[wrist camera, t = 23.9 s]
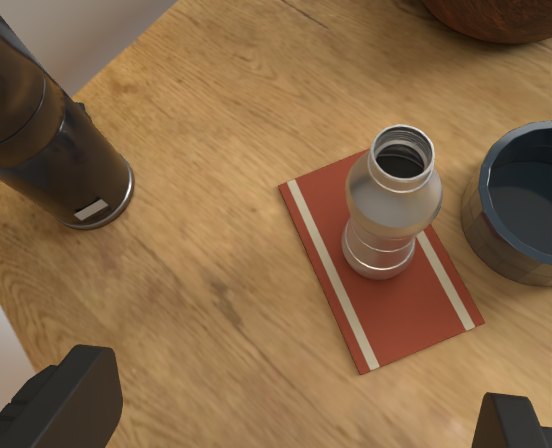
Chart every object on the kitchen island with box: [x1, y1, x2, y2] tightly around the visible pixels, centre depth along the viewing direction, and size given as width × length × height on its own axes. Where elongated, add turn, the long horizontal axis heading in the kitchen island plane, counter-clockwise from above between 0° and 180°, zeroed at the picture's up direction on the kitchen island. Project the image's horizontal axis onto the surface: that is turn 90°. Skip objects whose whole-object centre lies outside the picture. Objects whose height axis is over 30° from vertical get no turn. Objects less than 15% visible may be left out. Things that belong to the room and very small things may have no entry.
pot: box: [461, 120, 552, 286], centre depth 43 cm, size 13×13×6 cm
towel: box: [278, 148, 485, 375], centre depth 47 cm, size 20×12×1 cm, turn 21°
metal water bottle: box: [341, 125, 442, 280], centre depth 37 cm, size 6×7×20 cm
